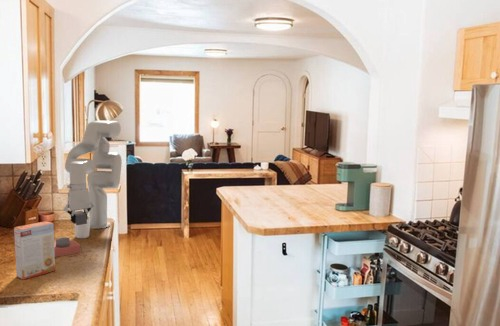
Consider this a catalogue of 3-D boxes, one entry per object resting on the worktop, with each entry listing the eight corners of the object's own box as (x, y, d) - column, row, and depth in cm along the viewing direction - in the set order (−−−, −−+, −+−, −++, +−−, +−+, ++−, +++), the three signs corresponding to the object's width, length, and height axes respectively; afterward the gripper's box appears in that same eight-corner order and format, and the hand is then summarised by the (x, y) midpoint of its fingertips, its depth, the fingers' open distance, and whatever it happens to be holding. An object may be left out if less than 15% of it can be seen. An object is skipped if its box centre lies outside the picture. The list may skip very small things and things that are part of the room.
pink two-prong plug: (39, 247, 230) (39, 234, 229) (69, 243, 239) (69, 230, 238) (49, 257, 217) (49, 243, 216) (80, 252, 226) (80, 239, 225)
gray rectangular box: (72, 221, 240) (71, 212, 240) (81, 220, 244) (81, 210, 243) (76, 225, 235) (76, 215, 234) (86, 223, 238) (86, 213, 237)
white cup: (80, 239, 245) (79, 220, 244) (71, 236, 250) (70, 218, 248) (93, 236, 251) (93, 217, 250) (84, 233, 256) (84, 215, 255)
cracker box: (48, 267, 205) (47, 220, 202) (55, 271, 201) (54, 222, 198) (15, 276, 194) (13, 226, 191) (22, 280, 190) (20, 229, 188)
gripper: (62, 190, 228) (64, 226, 231) (97, 186, 238) (98, 221, 241) (58, 186, 234) (59, 222, 237) (92, 183, 244) (93, 217, 247)
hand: (79, 221), depth 239 cm, fingers closed on gray rectangular box, 5 cm apart
